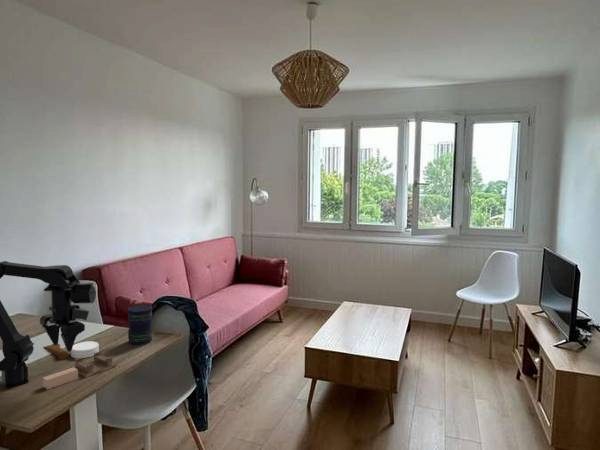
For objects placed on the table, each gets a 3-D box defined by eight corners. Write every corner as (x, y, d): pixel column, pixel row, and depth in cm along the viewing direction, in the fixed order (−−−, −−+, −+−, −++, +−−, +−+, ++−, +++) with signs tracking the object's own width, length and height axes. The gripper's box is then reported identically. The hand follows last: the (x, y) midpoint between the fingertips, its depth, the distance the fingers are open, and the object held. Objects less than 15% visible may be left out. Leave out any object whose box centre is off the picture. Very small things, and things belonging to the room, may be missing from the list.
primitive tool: (43, 348, 169) (42, 339, 169) (57, 344, 173) (57, 336, 173) (59, 362, 156) (58, 353, 156) (74, 358, 160) (74, 349, 160)
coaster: (79, 361, 157) (79, 352, 156) (65, 355, 162) (65, 346, 162) (104, 352, 165) (103, 344, 165) (90, 347, 170) (90, 339, 170)
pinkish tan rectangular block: (47, 390, 134) (46, 380, 134) (43, 387, 136) (42, 377, 135) (78, 379, 142) (77, 369, 142) (73, 376, 144) (73, 367, 144)
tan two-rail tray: (86, 377, 143) (85, 367, 143) (71, 369, 149) (71, 359, 148) (115, 366, 152) (115, 356, 152) (101, 359, 158) (100, 350, 157)
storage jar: (123, 343, 174) (122, 309, 173) (139, 336, 183) (138, 303, 182) (142, 347, 171) (141, 312, 170) (157, 339, 180) (157, 306, 179)
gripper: (99, 302, 139) (100, 347, 140) (71, 294, 149) (72, 335, 150) (66, 310, 130) (67, 357, 131) (38, 300, 140) (39, 344, 141)
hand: (62, 348), depth 139 cm, fingers open, 9 cm apart
